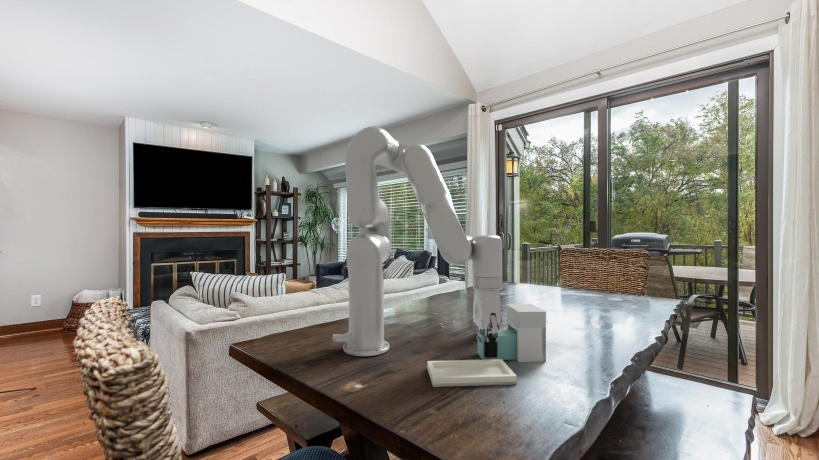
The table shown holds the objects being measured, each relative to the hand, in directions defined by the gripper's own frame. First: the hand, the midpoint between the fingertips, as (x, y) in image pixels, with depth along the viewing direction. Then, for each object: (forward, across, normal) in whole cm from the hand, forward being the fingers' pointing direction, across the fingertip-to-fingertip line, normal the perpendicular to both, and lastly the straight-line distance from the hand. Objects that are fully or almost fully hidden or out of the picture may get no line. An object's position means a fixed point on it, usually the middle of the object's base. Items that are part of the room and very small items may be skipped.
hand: (487, 352), depth 96 cm
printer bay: (+1, 0, +10) cm, 10 cm away
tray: (+1, +12, -8) cm, 14 cm away
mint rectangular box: (+1, 0, +4) cm, 5 cm away
